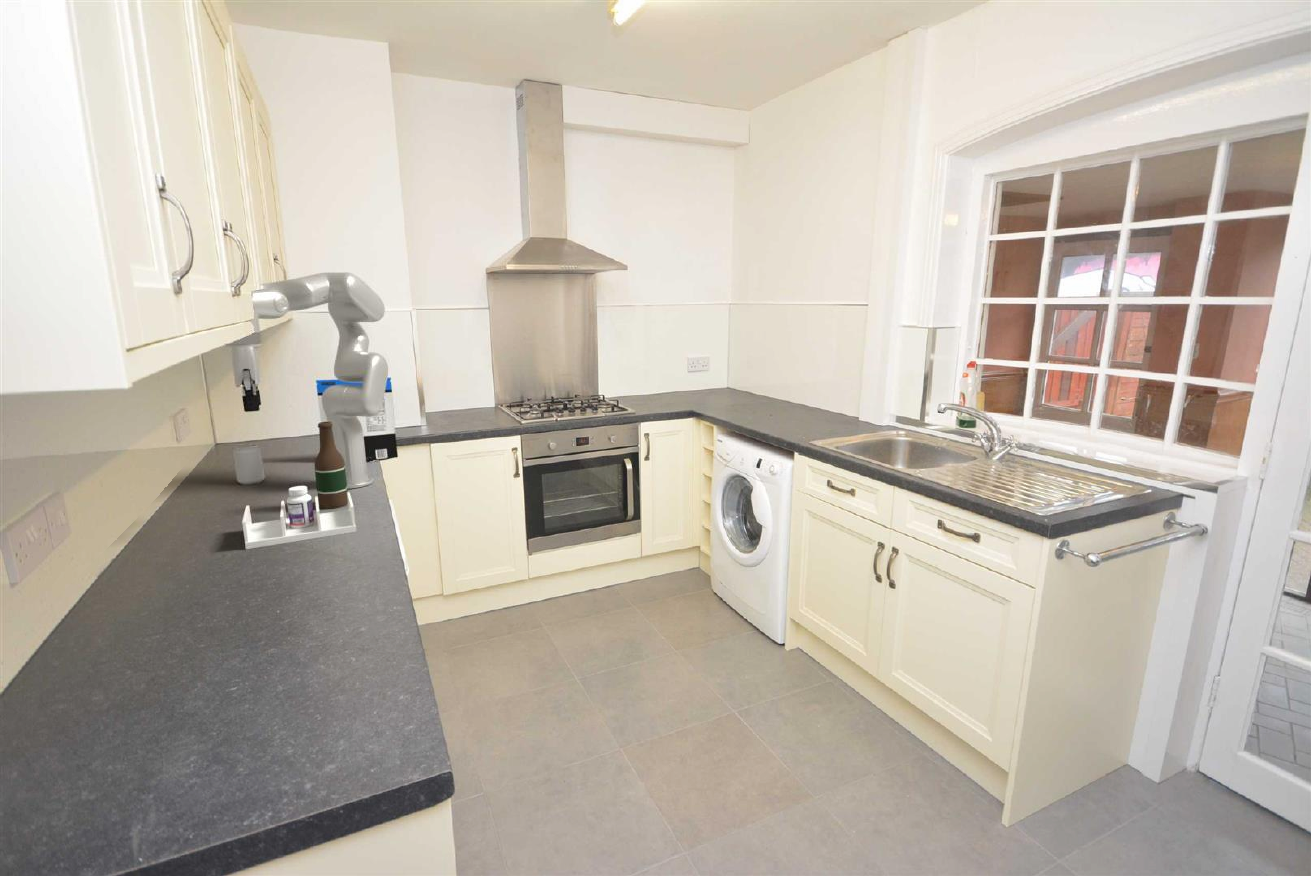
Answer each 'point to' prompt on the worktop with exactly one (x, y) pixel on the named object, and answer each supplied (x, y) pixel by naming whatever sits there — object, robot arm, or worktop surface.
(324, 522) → the shelf rack
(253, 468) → the can
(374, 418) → the protein powder
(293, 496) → the pill bottle
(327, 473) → the beer bottle
